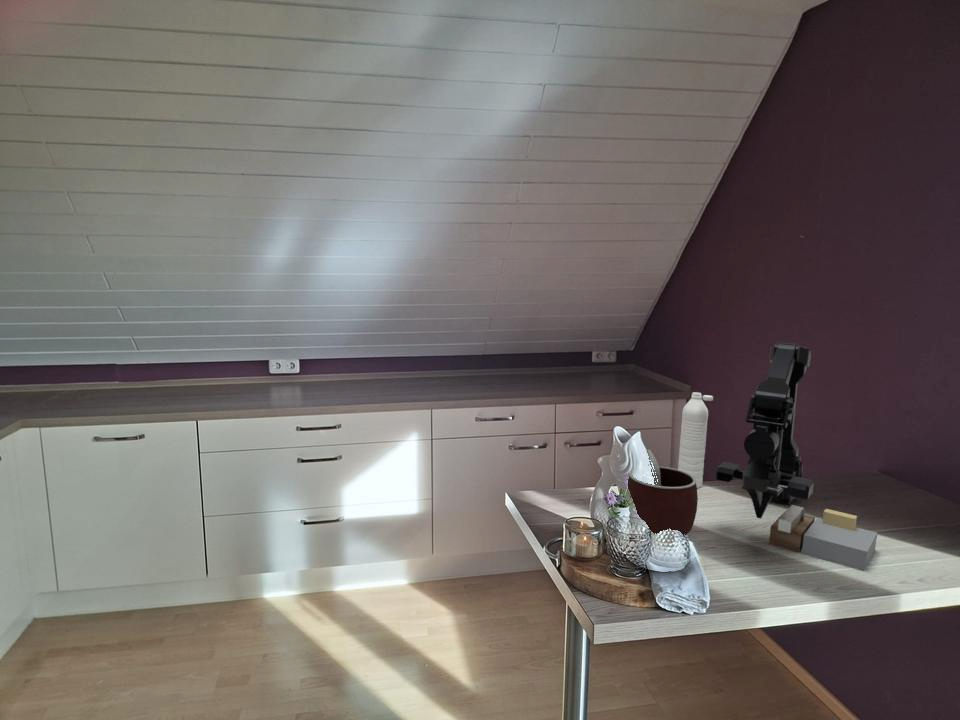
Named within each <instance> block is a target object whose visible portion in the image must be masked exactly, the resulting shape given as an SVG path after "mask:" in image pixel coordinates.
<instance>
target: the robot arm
mask: <svg viewBox="0 0 960 720" xmlns="http://www.w3.org/2000/svg"><path fill="white" fill-rule="evenodd" d="M769 351H770V352H769V357H768V362H769V363H770V364H771V365H770V367H769V371H768V374H767V377H766V378H765V379H766V380H763V381H761V382H759V383H758V385H757V387H756V389H755V391H754V392H752V393H751V394H750V395H751V396H750V401H749V404H748V405H749V406H748V410H747V414H746V420H745V423H749V424H753V425H752V426H753V428H752V430H751V431H750V432H749V434H748V435H747V436H746V437H745V438H744V441H743V448H744V451H745V452H746V454H747V455H748V456H749V460H748V462H747V463H746V466H745V468H744V470H742V467H741V464H737V463H732V462H727V461H724V462H722V463H721V464H720V465H719V466H717V467H716V468H715V472H714V479H715V480H716V481H721V482H727V483H729V482H731V481H732V480H734V479H738V480H739V479H740V480H742V485H741V489H742V490H745V491H747V493H748V494H749V496H750V498H751V502H752V505H753V508H754V512H755V513H754V514H755V517H756V519H762V517H763V516H764V514H765V512H766V510H767V508H768V506H769V504H770V502H771V501H772V502H776V503H780V504H783V505H790V504H791V503H792V502H793V501H794V500H795V498H796V499H802V500H809V499H810V497H811V495H812V494H813V493H814V482H813V480H812V479H810V478H806V477H805V478H804V477H803V472H804V471H803V467H804V466H803V465H804V463H803V462H802V459H801V456H799V446H798V444H797V442H796V441H795V439H794V429H795V418H796V406H797V398H798V397H797V396H798V385H799V381H801V379H802V378H803V377H804V375H805V374H806V371H807V368H809V367H810V365H811V359H812V353H811V350H810V349H809V348H807V347H805V346H800V345H798V344H796V343H791V342H790V343H789V342H778V343H775V344H774V345H771V346H770V350H769Z"/></svg>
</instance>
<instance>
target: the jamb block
mask: <svg viewBox="0 0 960 720" xmlns="http://www.w3.org/2000/svg"><path fill="white" fill-rule="evenodd" d="M787 510H788V509H786V510H784V511H783V512H782V513H781V515H779V516H778V518H777V519H776V520H775V521H774V522H773V523H772V524H771V525H770V529H769V541H768V545H771V546H775V547H778V548H780V549H781V548H782V549H786V550H789V551H792V552H796V553H800V552H802V547H803V538H804V534H805V533H806V532H807V530H808V529H809V528H810V527H811V525H812V524H813V523H814V521H815V520H816V518H815V516H813V515H812V516H810V515H807V514H804V520H803V521H800V522H799V523H798V524H797V526H796V527H795V528H794V529H793V530H792V532H791V533H788V532H784V531H780V530H778V524H779V519H780V517H781V516H782V515H783V514H784V513H785V512H786V511H787Z"/></svg>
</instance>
